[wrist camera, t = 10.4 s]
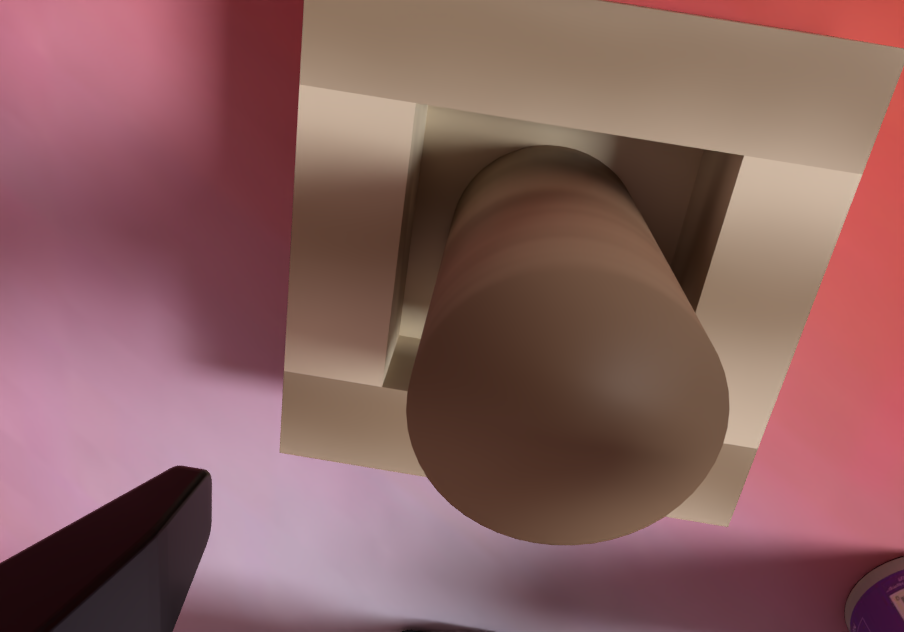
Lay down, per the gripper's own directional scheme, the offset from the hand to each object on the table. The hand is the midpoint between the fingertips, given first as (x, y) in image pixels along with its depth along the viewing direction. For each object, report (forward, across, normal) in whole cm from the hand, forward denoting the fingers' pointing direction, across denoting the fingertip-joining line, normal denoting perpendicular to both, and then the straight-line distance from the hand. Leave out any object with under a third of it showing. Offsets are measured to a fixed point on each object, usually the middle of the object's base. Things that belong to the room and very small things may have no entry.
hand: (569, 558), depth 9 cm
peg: (+12, 0, 0) cm, 12 cm away
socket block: (+13, 0, 0) cm, 13 cm away
